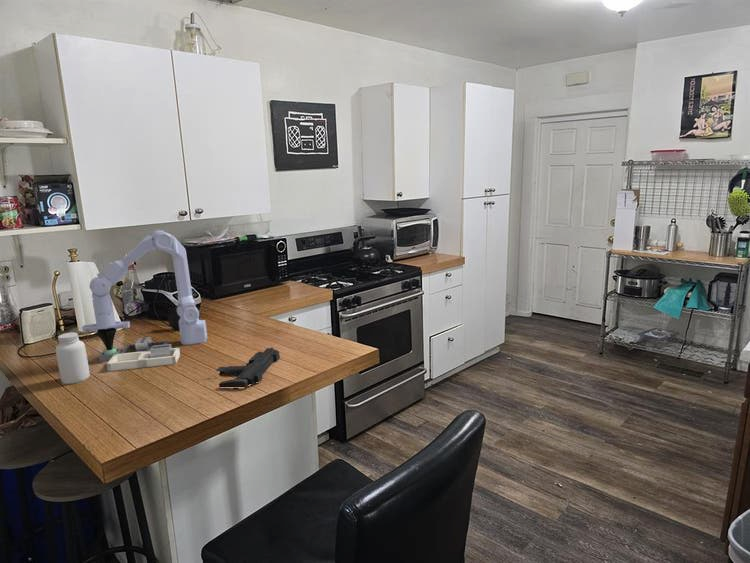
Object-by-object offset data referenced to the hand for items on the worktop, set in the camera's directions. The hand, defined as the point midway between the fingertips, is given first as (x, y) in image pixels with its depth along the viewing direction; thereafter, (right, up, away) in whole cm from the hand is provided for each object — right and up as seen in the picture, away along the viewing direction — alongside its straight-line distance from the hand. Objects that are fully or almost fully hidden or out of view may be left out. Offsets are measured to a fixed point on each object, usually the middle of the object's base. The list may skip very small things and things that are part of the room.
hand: (110, 349), depth 171 cm
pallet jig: (+15, -5, -5) cm, 16 cm away
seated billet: (+20, -3, -4) cm, 21 cm away
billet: (+10, -2, +5) cm, 11 cm away
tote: (+10, -3, +5) cm, 11 cm away
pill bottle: (-3, -8, -15) cm, 17 cm away
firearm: (+49, -6, -10) cm, 50 cm away
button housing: (0, -4, +1) cm, 4 cm away
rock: (+13, +4, +34) cm, 37 cm away
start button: (0, -3, +1) cm, 3 cm away
